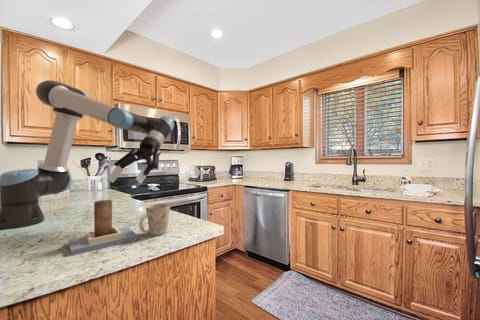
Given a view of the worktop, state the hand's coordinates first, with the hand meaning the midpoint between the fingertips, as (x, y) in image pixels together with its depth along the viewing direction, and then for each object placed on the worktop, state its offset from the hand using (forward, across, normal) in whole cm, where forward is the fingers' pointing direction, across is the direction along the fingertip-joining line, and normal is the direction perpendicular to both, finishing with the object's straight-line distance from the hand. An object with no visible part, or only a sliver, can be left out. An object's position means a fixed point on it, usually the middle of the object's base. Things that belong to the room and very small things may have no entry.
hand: (123, 181), depth 80 cm
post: (+19, 0, -7) cm, 20 cm away
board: (+20, 0, -8) cm, 21 cm away
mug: (+12, -12, -16) cm, 23 cm away
